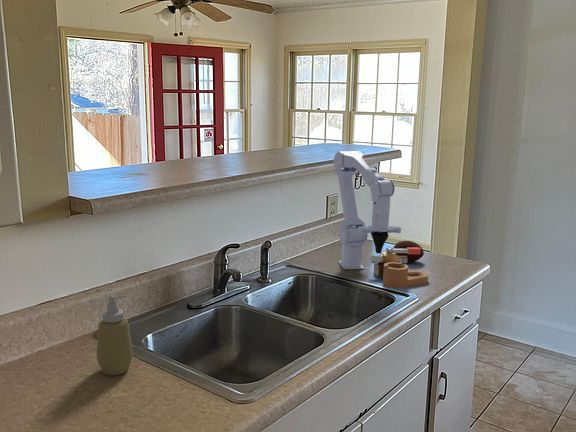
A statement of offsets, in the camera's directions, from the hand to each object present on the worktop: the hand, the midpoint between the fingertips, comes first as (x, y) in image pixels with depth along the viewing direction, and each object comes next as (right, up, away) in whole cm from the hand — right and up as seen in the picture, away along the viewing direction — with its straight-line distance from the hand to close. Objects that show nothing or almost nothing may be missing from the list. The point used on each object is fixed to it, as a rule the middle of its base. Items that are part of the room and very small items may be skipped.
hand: (378, 252), depth 192 cm
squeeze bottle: (-72, -23, -65) cm, 99 cm away
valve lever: (+10, -1, +8) cm, 13 cm away
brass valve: (+5, -9, +9) cm, 13 cm away
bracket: (+10, -11, +2) cm, 15 cm away
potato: (+16, -5, +27) cm, 32 cm away
